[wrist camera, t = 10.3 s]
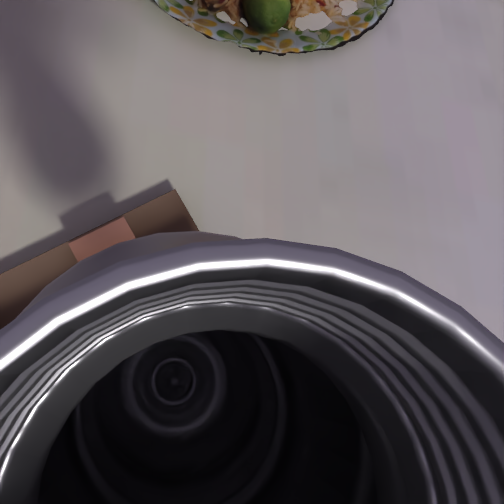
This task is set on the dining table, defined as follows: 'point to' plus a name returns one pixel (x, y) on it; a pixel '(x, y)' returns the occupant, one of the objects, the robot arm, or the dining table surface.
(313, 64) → the dining table surface
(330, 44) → the rice dish
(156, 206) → the socket board
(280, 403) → the plastic bottle
